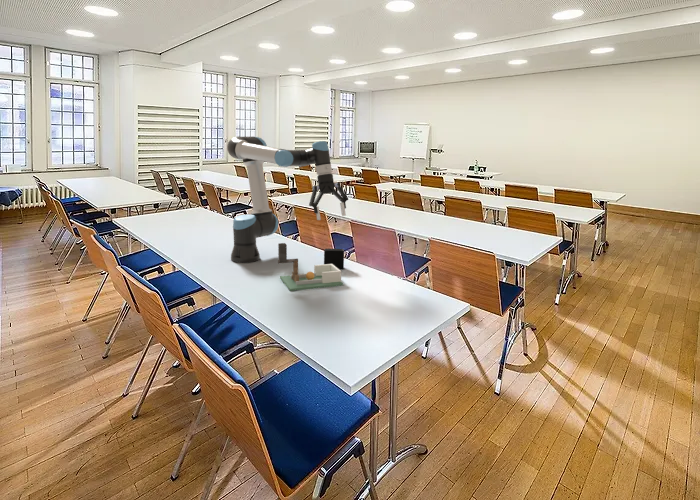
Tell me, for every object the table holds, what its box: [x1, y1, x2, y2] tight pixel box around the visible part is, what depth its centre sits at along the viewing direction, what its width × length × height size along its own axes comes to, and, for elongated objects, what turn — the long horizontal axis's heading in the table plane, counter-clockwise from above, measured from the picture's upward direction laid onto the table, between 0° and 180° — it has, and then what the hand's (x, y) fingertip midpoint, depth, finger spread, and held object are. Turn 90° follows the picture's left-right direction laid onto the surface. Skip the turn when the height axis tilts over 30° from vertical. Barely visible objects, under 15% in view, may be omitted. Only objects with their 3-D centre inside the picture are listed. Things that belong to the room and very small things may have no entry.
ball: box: [305, 271, 314, 280], centre depth 204 cm, size 4×4×4 cm
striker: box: [277, 242, 299, 282], centre depth 198 cm, size 6×9×18 cm, turn 113°
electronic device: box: [323, 248, 345, 271], centre depth 225 cm, size 4×10×10 cm, turn 95°
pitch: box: [279, 263, 344, 292], centre depth 204 cm, size 18×25×6 cm
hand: (331, 217), depth 214 cm, fingers open, 13 cm apart
